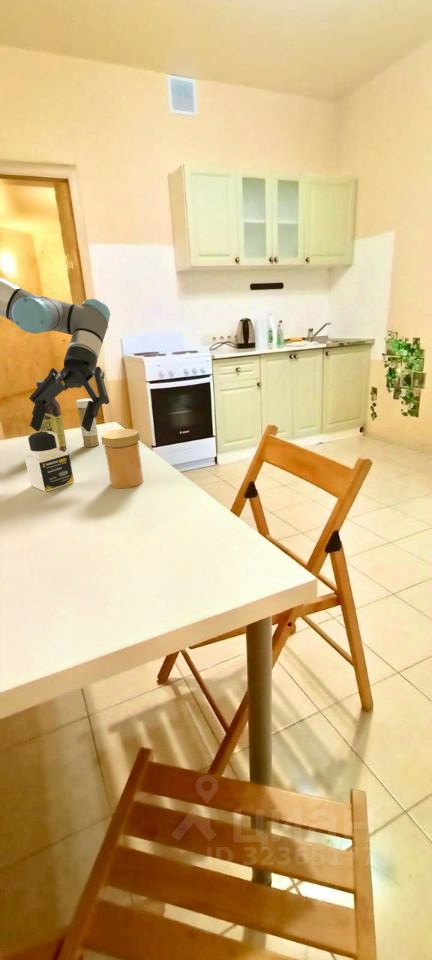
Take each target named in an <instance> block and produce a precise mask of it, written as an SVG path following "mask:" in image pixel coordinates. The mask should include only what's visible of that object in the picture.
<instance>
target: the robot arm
mask: <svg viewBox="0 0 432 960" xmlns="http://www.w3.org/2000/svg"><path fill="white" fill-rule="evenodd" d="M0 316H1V317H3V318H5V319H7V320H9V321H10V322H12V323H15V325H16V326H17V327H18V328H19V329H20V330H22V331H23V332H26V333H30V334H42V333H46V332H57V333H62V334H67V335H70V336H71V338H70V341H69V343H68V346H67V350H66V353H65V356H64V358H63V367H62V368H61V370H56V369H55V368H54V367H52V368H51V369H50V370H49V372H48V375H47V376H46V377H45V378H44V379H43V380H44V381H43V382H42V383H41V384H40V386H39V387H38V388H35V390H34V391H33V393H32V394H30V396H29V398H28V399H29V401H31V402H32V403H33V404H34V406H33V409H32V412H31V415H32V418H31V420H30V424H29V426H30V427H31V428H32V429H33V430H35V431H36V432H41V431H40V428H41V425H42V422H43V419H44V416H45V413H46V410H47V408H46V407H45V405H47V404H48V403H49V402H50V401H51V400H53V399H54V398H55V399H56V397H58V396H59V395H60V394H61V393H62V392H63V391H64V392H65V391H67V390H68V389H74V388H77V389H81V388H84V389H85V391H86V392H87V394H88V395H89V397H90V399H92V400H93V402H92V401H88V404H87V408H86V411H85V415H84V418H83V422H82V427H83V428H84V429H85V430H86V431H90V430H91V427H92V423H93V419H94V417H95V418H97V417H98V415H99V411H100V408H101V406H102V405H109V403H110V399H109V395H108V391H107V387H106V384H105V372H104V370H103V369H102V368H101V367H100V366H97V364H98V359H99V356H100V353H101V350H102V346H103V343H104V340H105V336H106V334H107V331H108V329H109V323H110V322H109V321H110V317H111V311H110V308H109V307H108V306H107V305H106V304H105V303H104V301H101V300H99V299H96V298H90V299H89V298H87V299H85V300H84V301H83V302H82V304H81V305H78V304H73V303H68V302H66V301H61V300H58V299H54V298H49V297H48V296H44V295H41V296H40V295H35V294H33V293H31V292H30V291H27V290H25V289H23V288H21V287H19V286H17V285H15V284H14V283H11V282H10V281H8V280H6V279H4V278H2V277H0ZM93 377H94V380H95V384H96V387H97V392H98V395H97V393H96V392H95V390H94V389H93V387H92V386H91V383H90V380H91V379H92V378H93ZM62 382H63V383H64V384H63V383H62ZM42 400H43V401H42Z"/></svg>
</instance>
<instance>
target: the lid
mask: <svg viewBox="0 0 432 960" xmlns="http://www.w3.org/2000/svg"><path fill="white" fill-rule="evenodd" d="M139 441H140V434H139V430H137V429H135V428H133V429H132V428H119V429H114V430H111V431H106V432H104V433H102V434H101V443H102V444H101V445H103V446H104V447H105V446H108V447H120V446H127V445H131V444H134V443H136V442H138V443H139Z"/></svg>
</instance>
